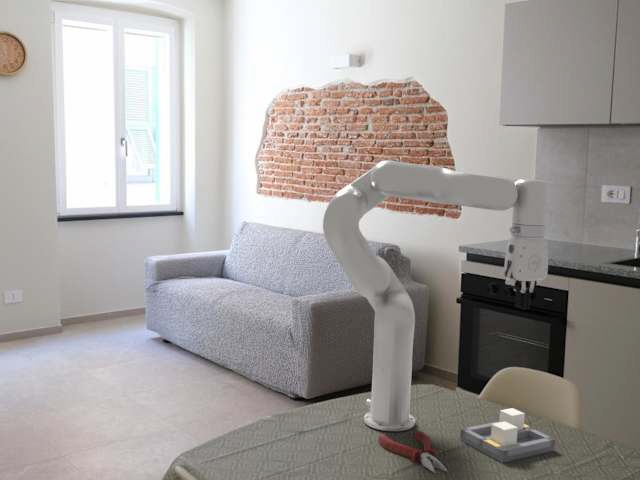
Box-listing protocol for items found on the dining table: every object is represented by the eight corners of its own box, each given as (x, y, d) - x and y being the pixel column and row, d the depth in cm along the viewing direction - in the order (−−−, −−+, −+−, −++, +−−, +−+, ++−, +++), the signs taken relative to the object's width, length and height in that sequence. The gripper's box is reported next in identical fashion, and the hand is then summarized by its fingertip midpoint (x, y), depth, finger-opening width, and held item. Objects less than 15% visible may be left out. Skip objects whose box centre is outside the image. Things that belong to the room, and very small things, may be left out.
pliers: (416, 480, 153) (417, 468, 153) (375, 443, 172) (376, 432, 171) (465, 474, 157) (465, 462, 157) (419, 438, 176) (420, 428, 176)
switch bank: (460, 439, 174) (460, 428, 174) (510, 429, 182) (511, 418, 182) (502, 462, 162) (502, 450, 162) (554, 450, 170) (555, 438, 170)
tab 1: (498, 430, 177) (500, 410, 177) (511, 427, 179) (512, 407, 179) (510, 436, 174) (512, 415, 173) (523, 433, 176) (524, 413, 175)
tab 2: (490, 445, 168) (491, 424, 168) (503, 442, 170) (505, 421, 170) (502, 451, 165) (504, 430, 164) (516, 448, 167) (517, 427, 166)
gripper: (515, 234, 168) (509, 313, 170) (563, 233, 175) (556, 309, 177) (492, 230, 175) (487, 307, 177) (539, 229, 182) (533, 303, 184)
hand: (522, 308), depth 177 cm, fingers closed
